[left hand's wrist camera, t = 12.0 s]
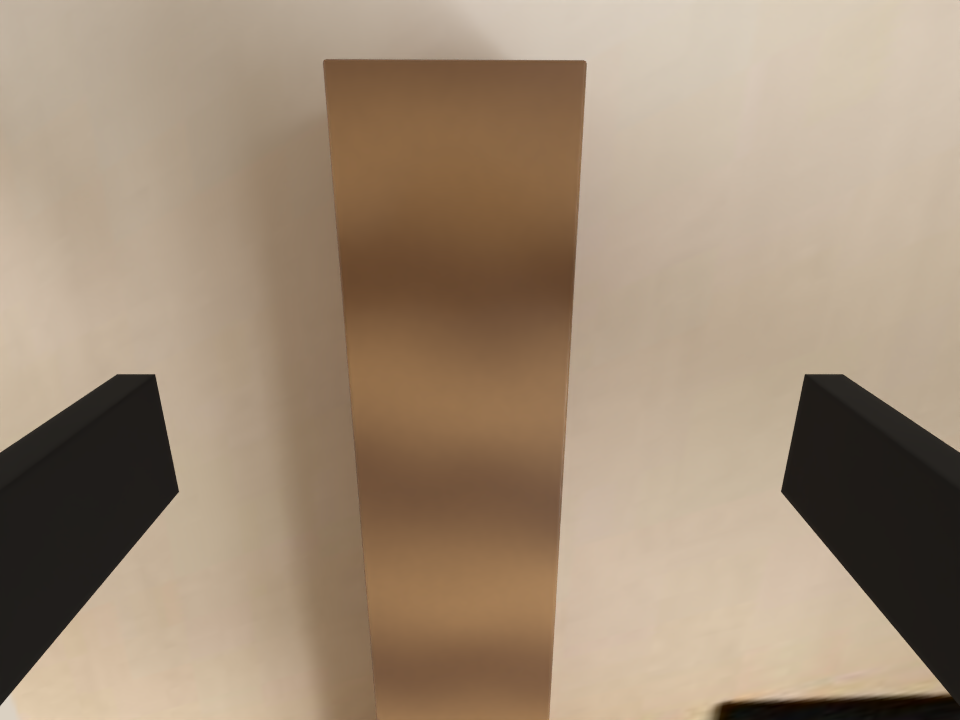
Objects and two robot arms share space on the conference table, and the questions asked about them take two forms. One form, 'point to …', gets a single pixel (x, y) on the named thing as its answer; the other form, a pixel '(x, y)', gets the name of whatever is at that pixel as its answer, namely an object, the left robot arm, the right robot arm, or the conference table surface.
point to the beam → (458, 366)
